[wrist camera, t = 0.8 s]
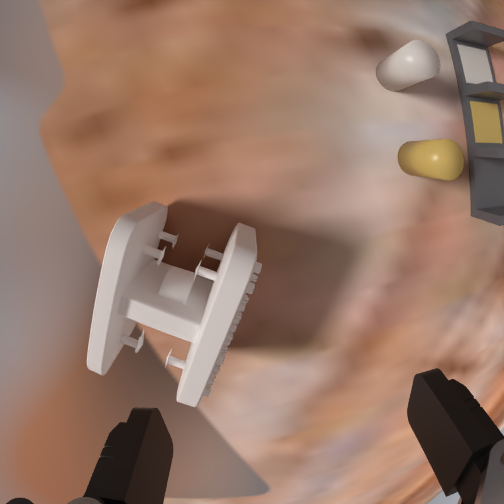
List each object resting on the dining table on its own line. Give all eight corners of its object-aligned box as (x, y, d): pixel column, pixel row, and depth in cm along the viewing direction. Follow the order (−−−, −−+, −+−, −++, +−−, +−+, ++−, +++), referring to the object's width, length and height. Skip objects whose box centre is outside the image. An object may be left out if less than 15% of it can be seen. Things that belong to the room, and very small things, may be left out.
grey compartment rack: (445, 34, 25) (471, 20, 20) (480, 41, 25) (506, 31, 20) (470, 216, 31) (499, 225, 26) (503, 211, 31) (531, 220, 26)
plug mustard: (395, 141, 29) (430, 139, 22) (424, 140, 29) (461, 139, 22) (399, 176, 30) (434, 181, 23) (427, 174, 30) (465, 179, 23)
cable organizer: (160, 189, 30) (113, 205, 19) (261, 226, 32) (267, 262, 20) (124, 316, 34) (82, 376, 23) (211, 349, 35) (199, 421, 24)
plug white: (372, 59, 27) (401, 38, 20) (402, 60, 27) (435, 42, 20) (379, 91, 28) (410, 76, 21) (409, 91, 28) (443, 79, 21)
